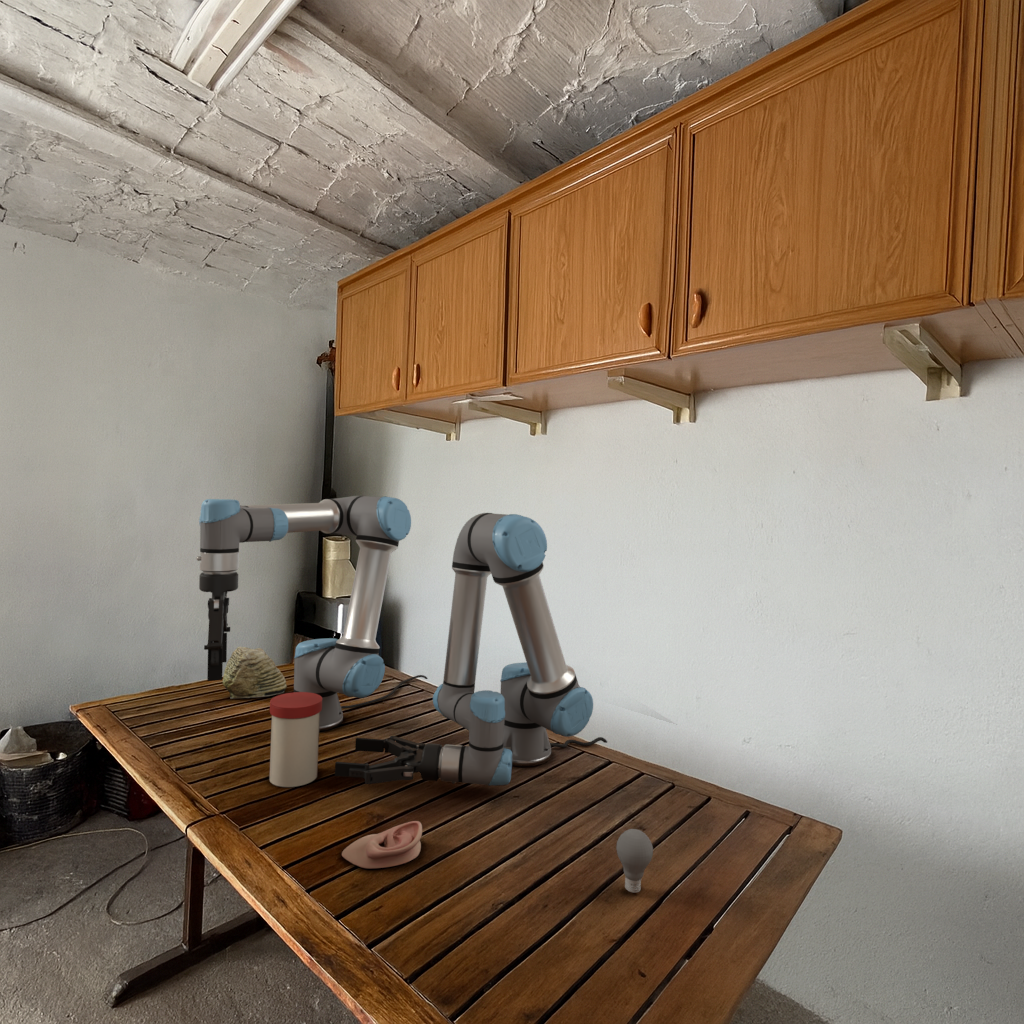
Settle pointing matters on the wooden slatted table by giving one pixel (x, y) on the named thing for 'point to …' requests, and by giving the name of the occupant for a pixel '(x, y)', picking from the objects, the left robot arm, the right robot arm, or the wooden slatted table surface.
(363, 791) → the wooden slatted table surface
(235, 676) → the fossil
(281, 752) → the jar
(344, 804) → the wooden slatted table surface
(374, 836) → the anatomical model
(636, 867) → the light bulb
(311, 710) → the lid
